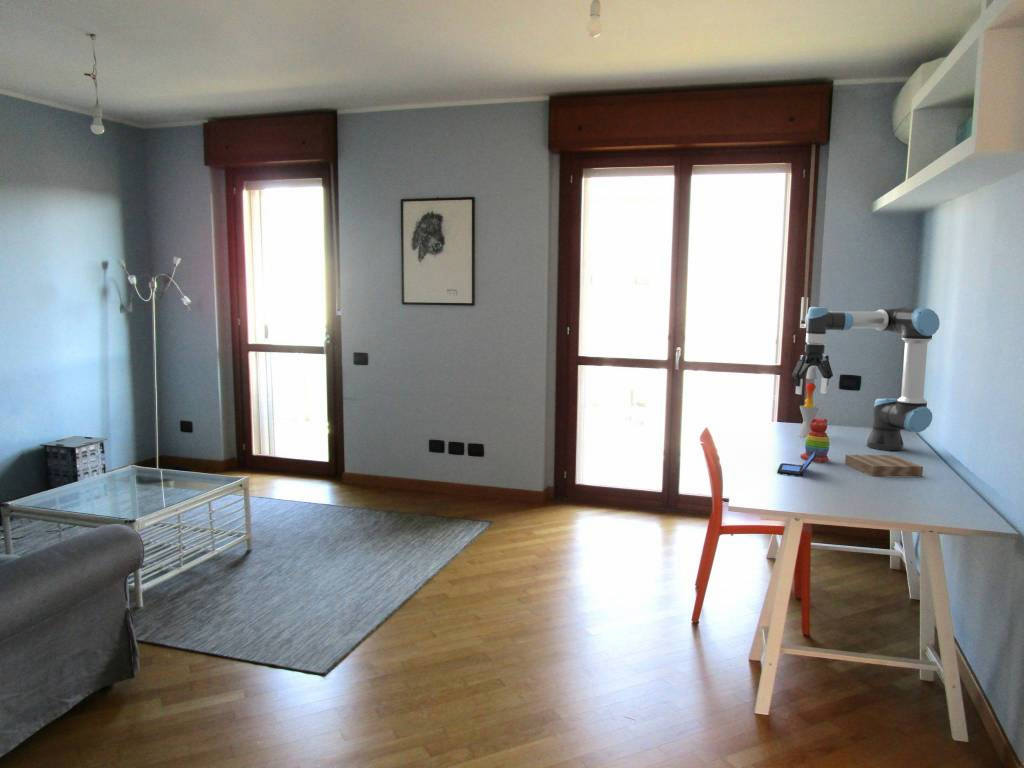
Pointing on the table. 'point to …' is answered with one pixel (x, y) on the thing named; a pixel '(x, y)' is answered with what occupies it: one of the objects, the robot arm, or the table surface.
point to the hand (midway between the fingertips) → (811, 393)
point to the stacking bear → (817, 441)
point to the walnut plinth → (883, 465)
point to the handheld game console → (796, 466)
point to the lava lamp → (808, 404)
